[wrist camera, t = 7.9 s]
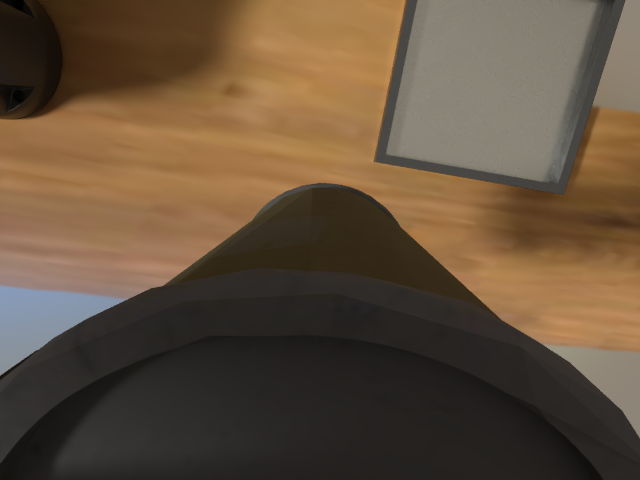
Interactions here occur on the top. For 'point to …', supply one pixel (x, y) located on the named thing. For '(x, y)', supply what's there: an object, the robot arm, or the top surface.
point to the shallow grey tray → (495, 87)
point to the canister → (308, 371)
